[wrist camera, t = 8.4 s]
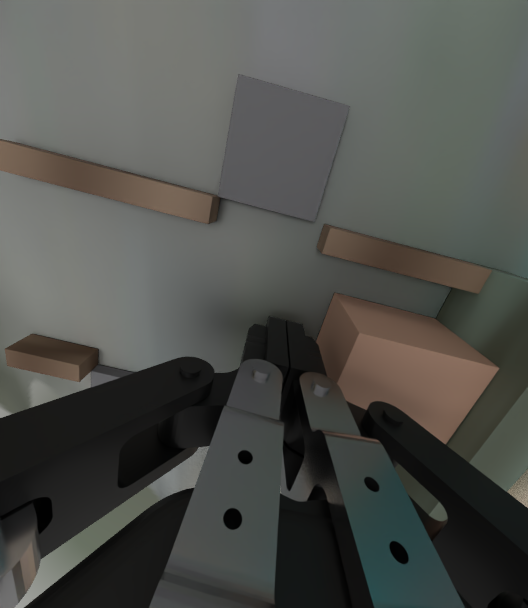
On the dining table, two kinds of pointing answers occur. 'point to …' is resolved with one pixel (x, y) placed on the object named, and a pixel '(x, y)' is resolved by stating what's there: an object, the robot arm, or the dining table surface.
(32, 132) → the dining table surface
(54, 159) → the lane
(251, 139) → the trap pads
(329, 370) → the terracotta block
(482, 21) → the dining table surface
